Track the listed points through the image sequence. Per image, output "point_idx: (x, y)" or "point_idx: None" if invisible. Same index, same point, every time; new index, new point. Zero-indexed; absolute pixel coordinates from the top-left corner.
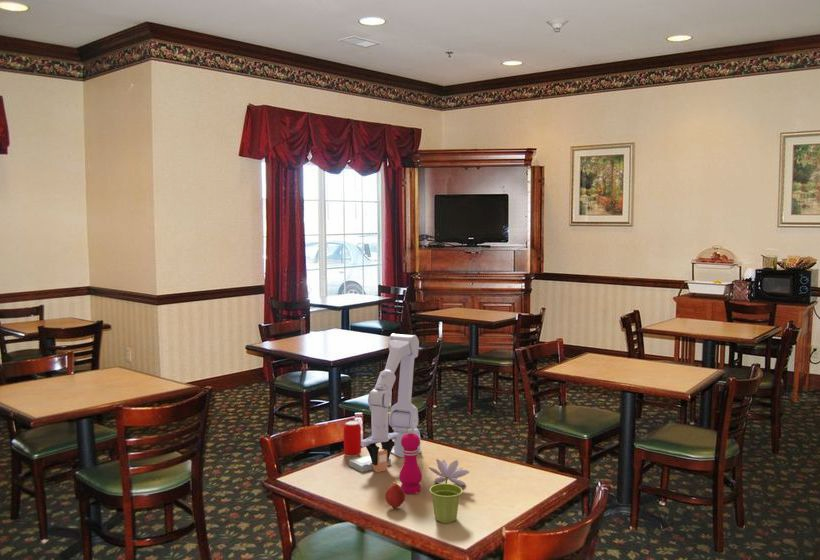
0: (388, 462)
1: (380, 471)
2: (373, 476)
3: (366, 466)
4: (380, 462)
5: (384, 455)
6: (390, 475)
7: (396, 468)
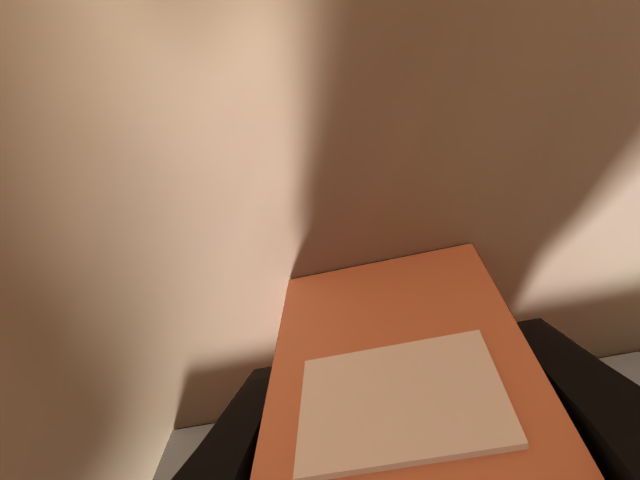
0: None
1: (422, 256)
2: (628, 113)
3: None
4: (449, 337)
5: (347, 450)
6: (340, 25)
7: (139, 279)
